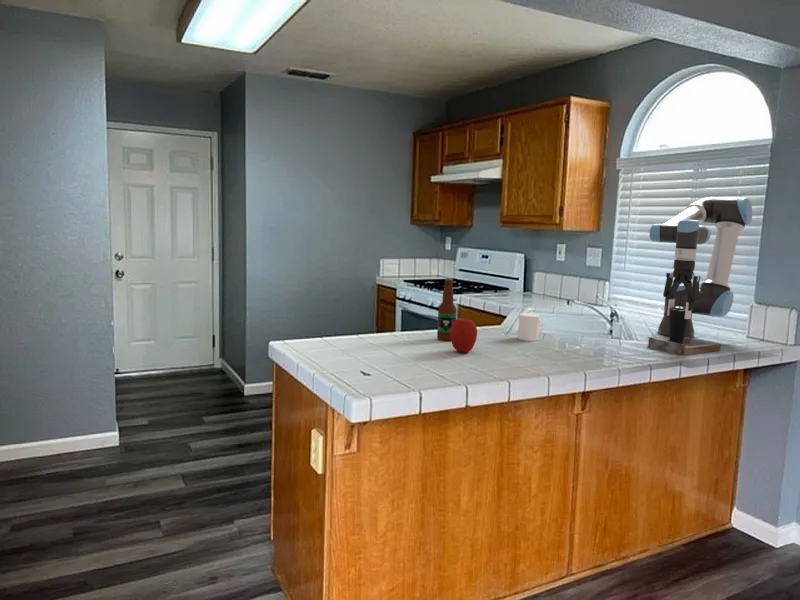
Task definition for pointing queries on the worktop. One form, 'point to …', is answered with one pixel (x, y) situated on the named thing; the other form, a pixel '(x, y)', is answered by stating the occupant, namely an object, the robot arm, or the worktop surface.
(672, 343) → the channel
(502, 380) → the worktop surface
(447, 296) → the bottle
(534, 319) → the mug
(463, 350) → the apple
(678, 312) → the drinking cup
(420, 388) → the worktop surface
